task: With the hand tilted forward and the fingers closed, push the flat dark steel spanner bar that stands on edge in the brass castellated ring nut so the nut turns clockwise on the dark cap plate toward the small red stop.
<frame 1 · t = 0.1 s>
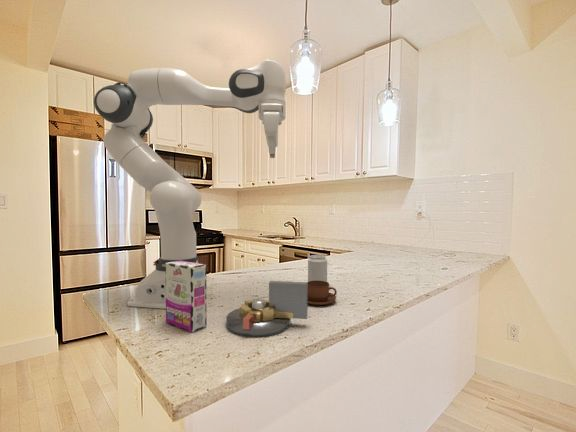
hand: (271, 155, 98), 48 cm above the countertop, tool pointing down, fingers open, 8 cm apart
cap plate: (258, 323, 79), on the countertop
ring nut: (273, 298, 78), point 7 cm above the countertop, hinge at -10.0°
candy bar box: (186, 325, 78), on the countertop
can: (317, 286, 116), on the countertop
cup and saucer: (317, 302, 98), on the countertop
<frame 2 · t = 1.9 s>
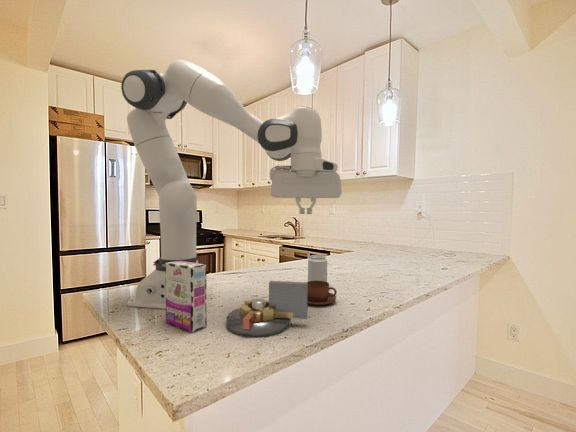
hand: (305, 213, 85), 29 cm above the countertop, tool pointing down, fingers closed
nothing on the countertop moved.
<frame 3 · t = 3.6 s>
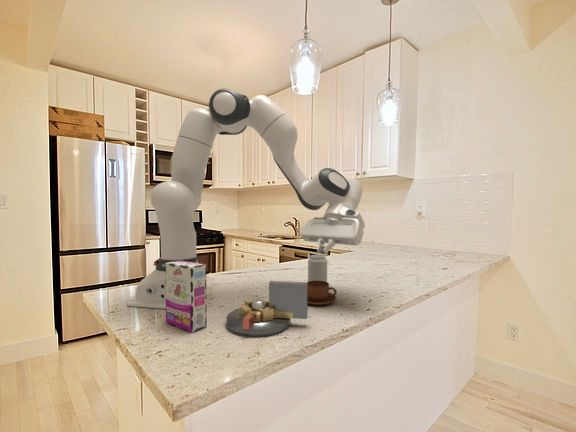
hand: (321, 252, 89), 18 cm above the countertop, tool tilted 45°, fingers closed
nothing on the countertop moved.
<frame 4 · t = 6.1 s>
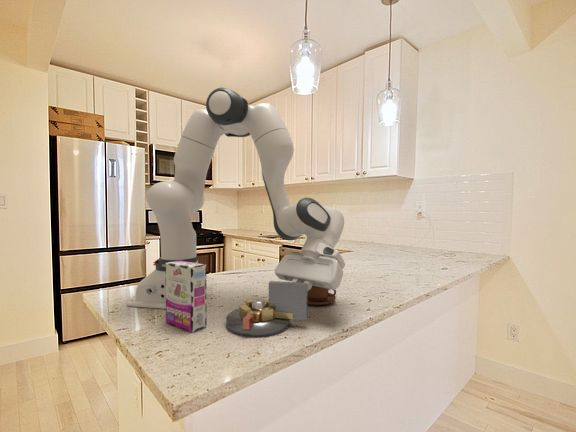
hand: (295, 296, 79), 7 cm above the countertop, tool tilted 45°, fingers closed
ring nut: (273, 299, 78), point 7 cm above the countertop, hinge at -12.8°, touching gripper
everything else where it was.
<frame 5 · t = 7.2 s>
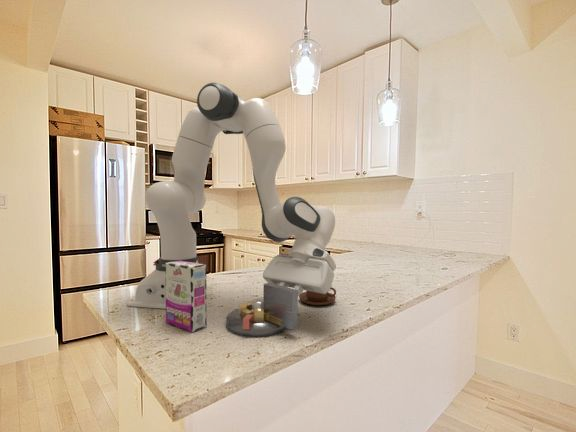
hand: (284, 301, 75), 7 cm above the countertop, tool tilted 45°, fingers closed
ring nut: (269, 301, 76), point 7 cm above the countertop, hinge at -44.3°, touching gripper
everything else where it was.
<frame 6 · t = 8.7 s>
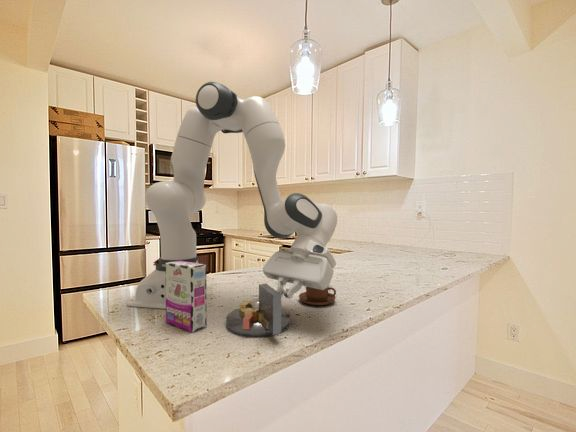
hand: (282, 295, 75), 9 cm above the countertop, tool tilted 45°, fingers closed
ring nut: (263, 302, 75), point 7 cm above the countertop, hinge at -66.7°
everything else where it was.
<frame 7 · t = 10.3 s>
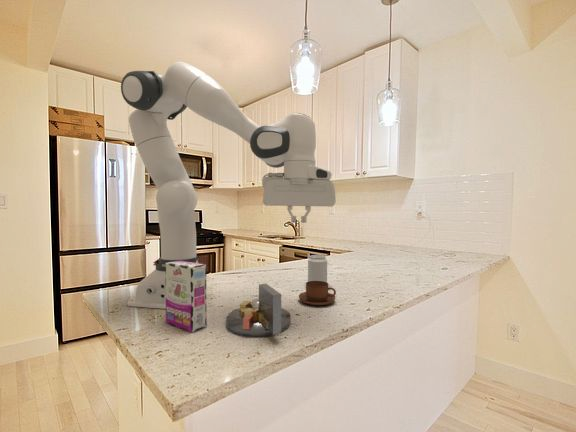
hand: (298, 222, 83), 27 cm above the countertop, tool pointing down, fingers closed
nothing on the countertop moved.
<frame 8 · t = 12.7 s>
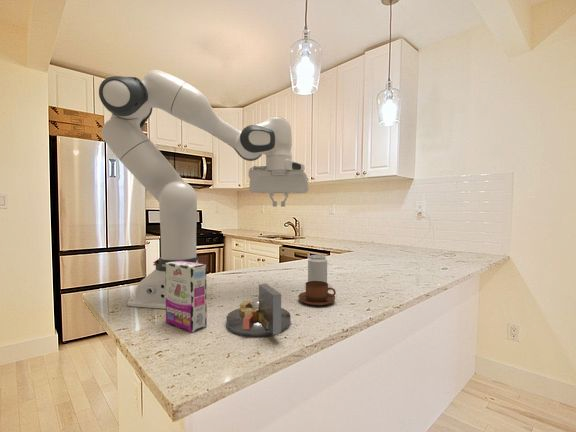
hand: (278, 206, 102), 31 cm above the countertop, tool pointing down, fingers closed
nothing on the countertop moved.
at the end: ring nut at -67° (first picture: -10°) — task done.
